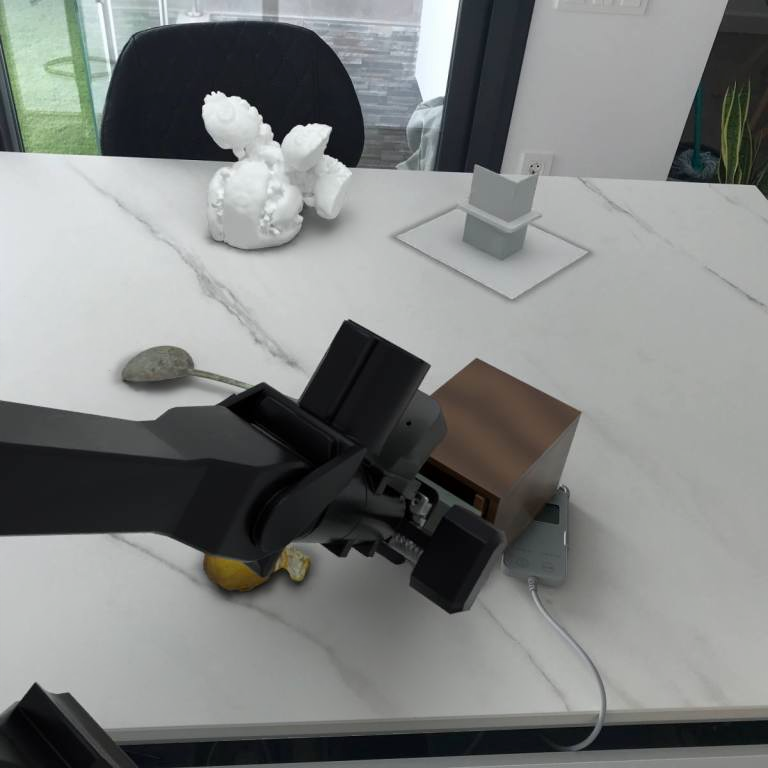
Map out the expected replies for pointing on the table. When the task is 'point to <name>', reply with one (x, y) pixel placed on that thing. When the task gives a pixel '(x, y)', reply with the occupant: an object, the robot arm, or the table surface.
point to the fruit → (245, 579)
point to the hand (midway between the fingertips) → (415, 509)
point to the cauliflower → (268, 176)
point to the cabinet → (504, 442)
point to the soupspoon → (169, 367)
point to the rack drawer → (450, 495)
